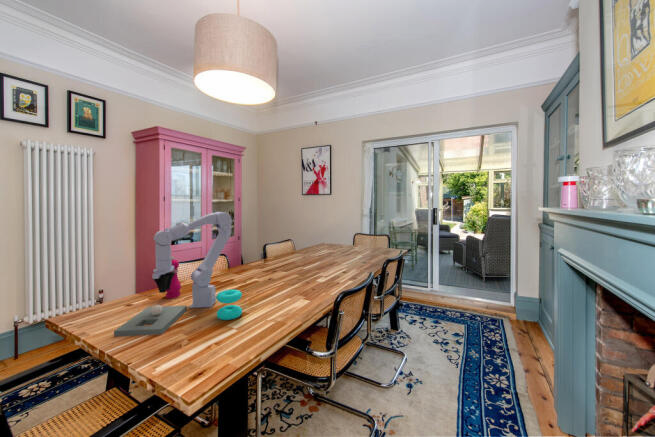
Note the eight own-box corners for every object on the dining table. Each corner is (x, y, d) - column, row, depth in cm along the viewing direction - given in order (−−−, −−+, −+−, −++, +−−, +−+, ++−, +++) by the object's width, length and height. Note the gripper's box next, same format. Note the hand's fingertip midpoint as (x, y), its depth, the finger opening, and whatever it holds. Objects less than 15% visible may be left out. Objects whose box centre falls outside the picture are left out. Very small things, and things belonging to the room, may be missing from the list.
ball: (164, 312, 113) (164, 303, 112) (159, 316, 109) (159, 306, 108) (154, 312, 112) (153, 303, 112) (148, 317, 108) (148, 307, 108)
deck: (187, 310, 120) (186, 305, 120) (162, 334, 98) (161, 328, 98) (148, 311, 119) (148, 306, 118) (114, 336, 97) (113, 330, 97)
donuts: (213, 291, 115) (238, 287, 121) (214, 314, 116) (238, 309, 121) (218, 298, 107) (244, 293, 112) (219, 323, 107) (245, 317, 113)
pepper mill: (161, 297, 136) (159, 257, 134) (174, 293, 142) (173, 254, 141) (171, 299, 133) (170, 258, 132) (184, 294, 140) (183, 255, 138)
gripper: (162, 256, 123) (163, 286, 124) (143, 263, 108) (145, 297, 109) (178, 255, 123) (179, 285, 124) (162, 263, 109) (163, 296, 110)
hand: (164, 291), depth 117 cm, fingers open, 3 cm apart
